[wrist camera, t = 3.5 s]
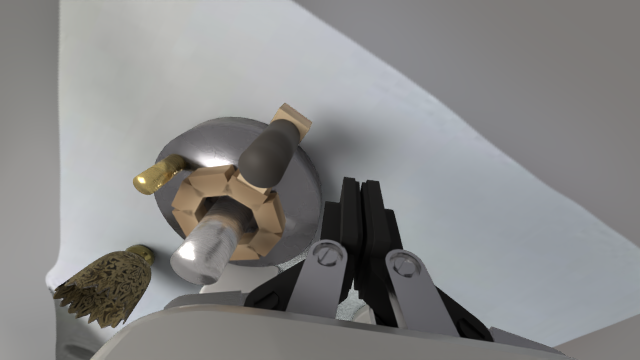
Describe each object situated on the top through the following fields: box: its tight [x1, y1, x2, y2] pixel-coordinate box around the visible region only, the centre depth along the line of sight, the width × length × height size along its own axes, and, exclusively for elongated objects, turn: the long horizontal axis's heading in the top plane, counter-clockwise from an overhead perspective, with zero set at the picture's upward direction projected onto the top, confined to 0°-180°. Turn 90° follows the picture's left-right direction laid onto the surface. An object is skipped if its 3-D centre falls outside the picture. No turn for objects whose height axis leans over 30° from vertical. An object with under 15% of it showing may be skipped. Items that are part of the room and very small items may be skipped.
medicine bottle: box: [199, 263, 279, 294], centre depth 27 cm, size 7×7×12 cm
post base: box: [133, 117, 322, 285], centre depth 22 cm, size 16×16×10 cm
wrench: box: [171, 103, 312, 260], centre depth 19 cm, size 16×10×7 cm, turn 145°
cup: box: [53, 245, 155, 328], centre depth 29 cm, size 8×7×8 cm
